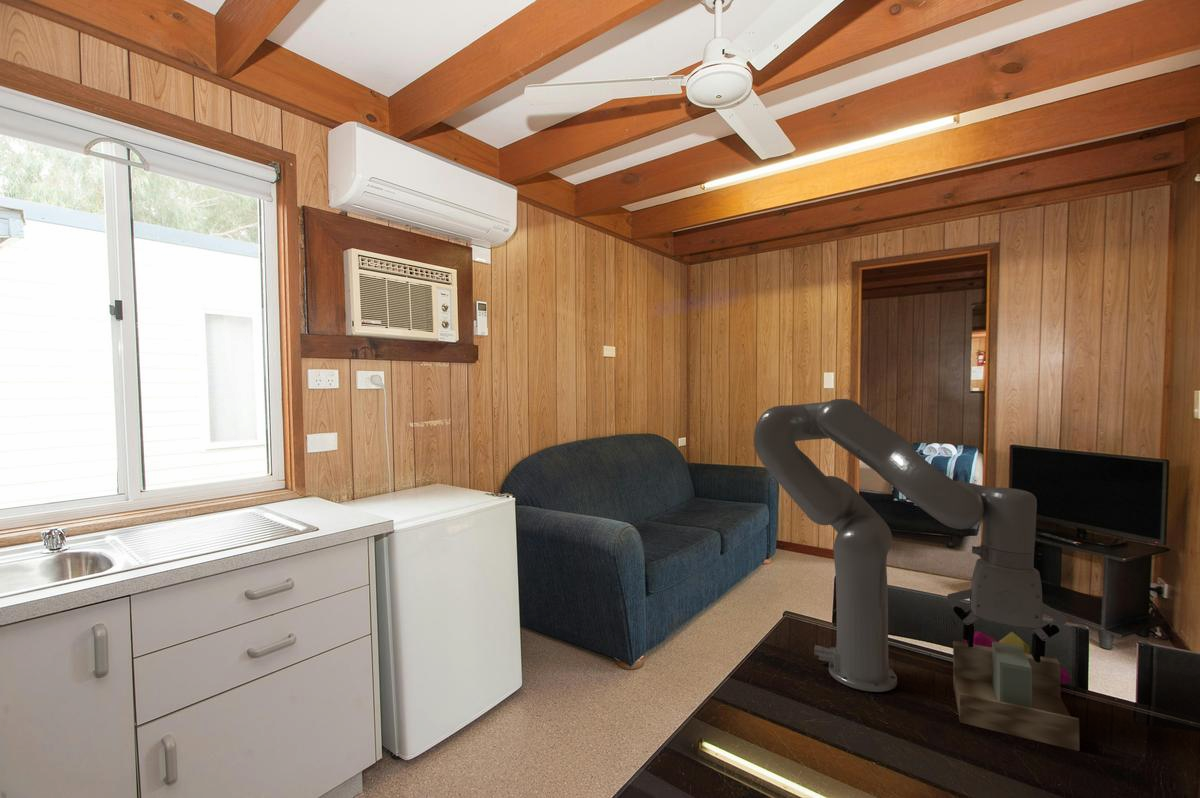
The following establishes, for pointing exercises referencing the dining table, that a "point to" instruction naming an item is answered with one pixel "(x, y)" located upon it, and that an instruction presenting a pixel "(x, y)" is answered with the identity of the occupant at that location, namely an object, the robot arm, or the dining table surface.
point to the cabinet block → (1011, 674)
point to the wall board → (985, 711)
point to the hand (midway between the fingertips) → (1001, 651)
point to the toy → (1012, 639)
